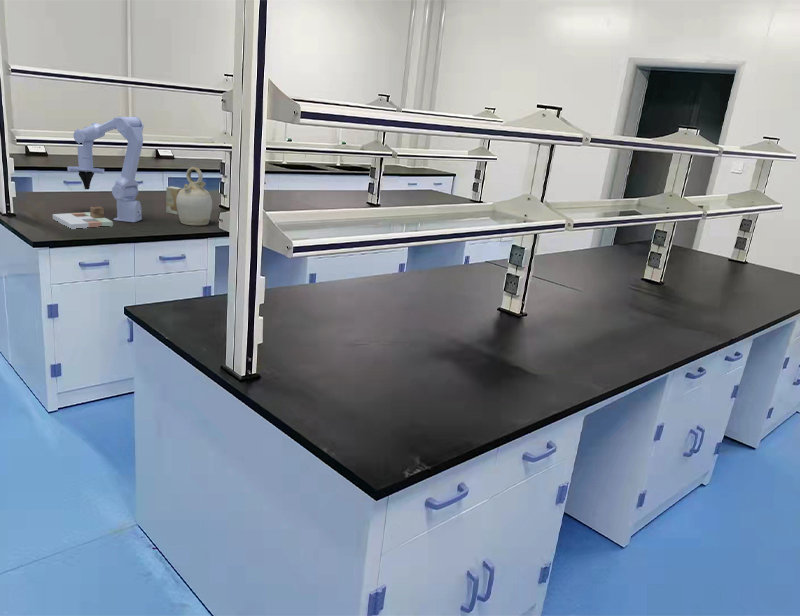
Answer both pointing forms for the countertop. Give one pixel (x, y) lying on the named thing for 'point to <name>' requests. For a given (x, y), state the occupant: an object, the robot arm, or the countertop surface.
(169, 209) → the skincare box
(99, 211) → the walnut block
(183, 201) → the jug
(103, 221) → the trap board
